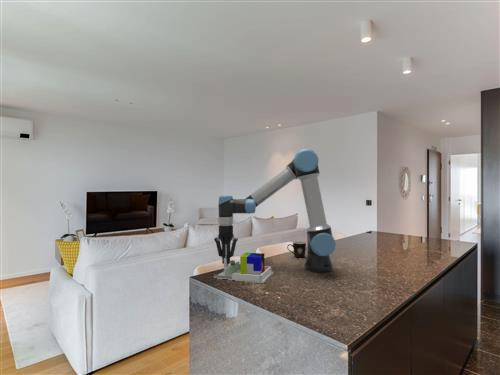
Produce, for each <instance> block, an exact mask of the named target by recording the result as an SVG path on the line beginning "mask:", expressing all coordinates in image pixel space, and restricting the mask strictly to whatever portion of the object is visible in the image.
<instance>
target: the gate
mask: <svg viewBox="0 0 500 375" xmlns="http://www.w3.org/2000/svg"><path fill="white" fill-rule="evenodd" d="M239 267H240V261H239V260H237V261H235V259H234V260H231V259H230V265H229V267H227V268H225V276H229V275H231V274H232V273H234V272H235V271H237V270H238V269H239Z"/></svg>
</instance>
